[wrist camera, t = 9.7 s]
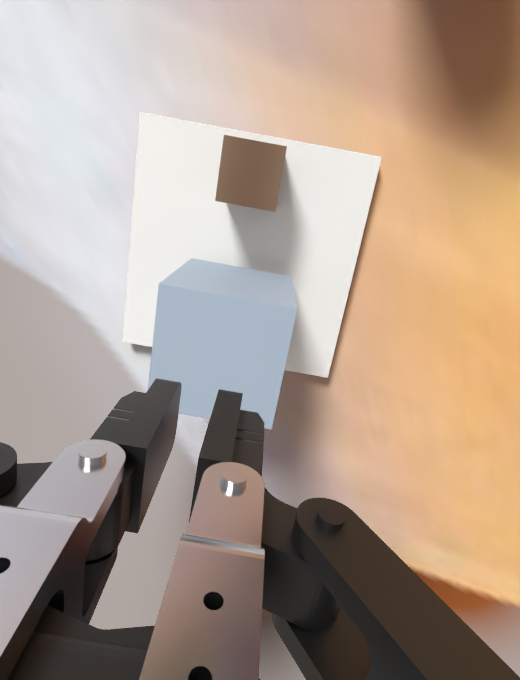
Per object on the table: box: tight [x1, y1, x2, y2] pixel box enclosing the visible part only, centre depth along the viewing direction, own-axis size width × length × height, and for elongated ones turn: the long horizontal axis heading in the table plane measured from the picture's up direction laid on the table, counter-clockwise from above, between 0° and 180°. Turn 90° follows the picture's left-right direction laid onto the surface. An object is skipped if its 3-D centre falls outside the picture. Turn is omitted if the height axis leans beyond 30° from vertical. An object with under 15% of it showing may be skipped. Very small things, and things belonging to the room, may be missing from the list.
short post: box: [215, 135, 287, 212], centre depth 20 cm, size 3×3×4 cm
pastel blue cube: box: [148, 258, 297, 430], centre depth 20 cm, size 5×5×7 cm
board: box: [122, 112, 382, 378], centre depth 24 cm, size 12×12×1 cm
